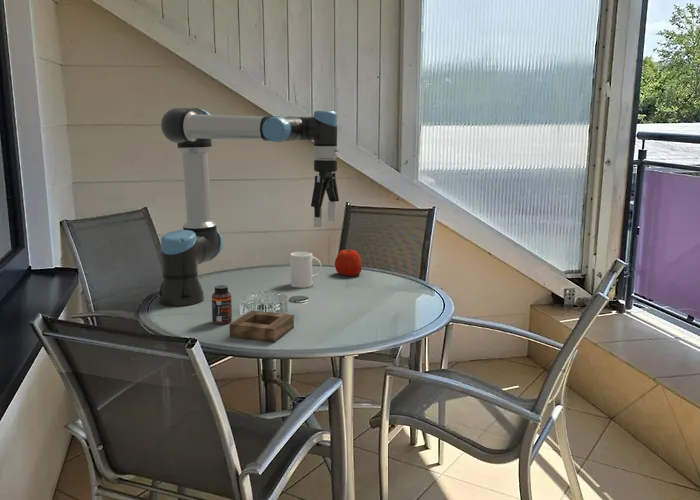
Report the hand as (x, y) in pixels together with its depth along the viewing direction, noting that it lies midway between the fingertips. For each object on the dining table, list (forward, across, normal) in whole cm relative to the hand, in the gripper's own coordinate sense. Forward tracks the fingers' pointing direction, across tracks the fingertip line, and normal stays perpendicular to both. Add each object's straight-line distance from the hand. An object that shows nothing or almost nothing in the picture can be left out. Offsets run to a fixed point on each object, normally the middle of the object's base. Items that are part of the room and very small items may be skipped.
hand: (325, 223), depth 214 cm
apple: (+28, +41, +4) cm, 50 cm away
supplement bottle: (+28, -29, +23) cm, 46 cm away
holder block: (+27, -34, +8) cm, 45 cm away
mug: (+28, +21, +15) cm, 38 cm away
